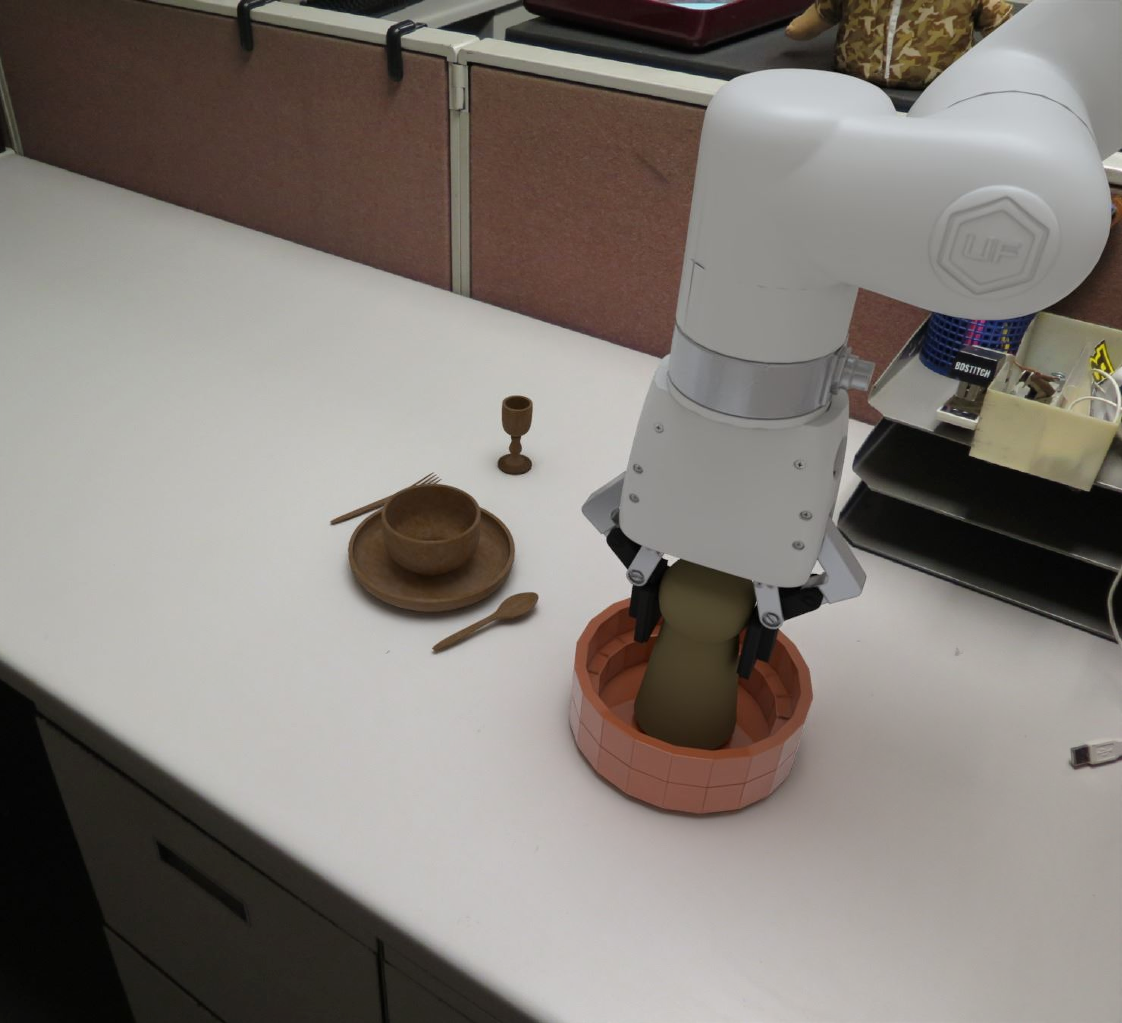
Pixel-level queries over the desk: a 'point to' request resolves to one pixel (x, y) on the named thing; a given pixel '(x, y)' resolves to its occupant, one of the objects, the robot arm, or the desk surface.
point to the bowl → (672, 771)
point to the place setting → (442, 542)
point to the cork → (695, 657)
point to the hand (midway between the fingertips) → (698, 642)
